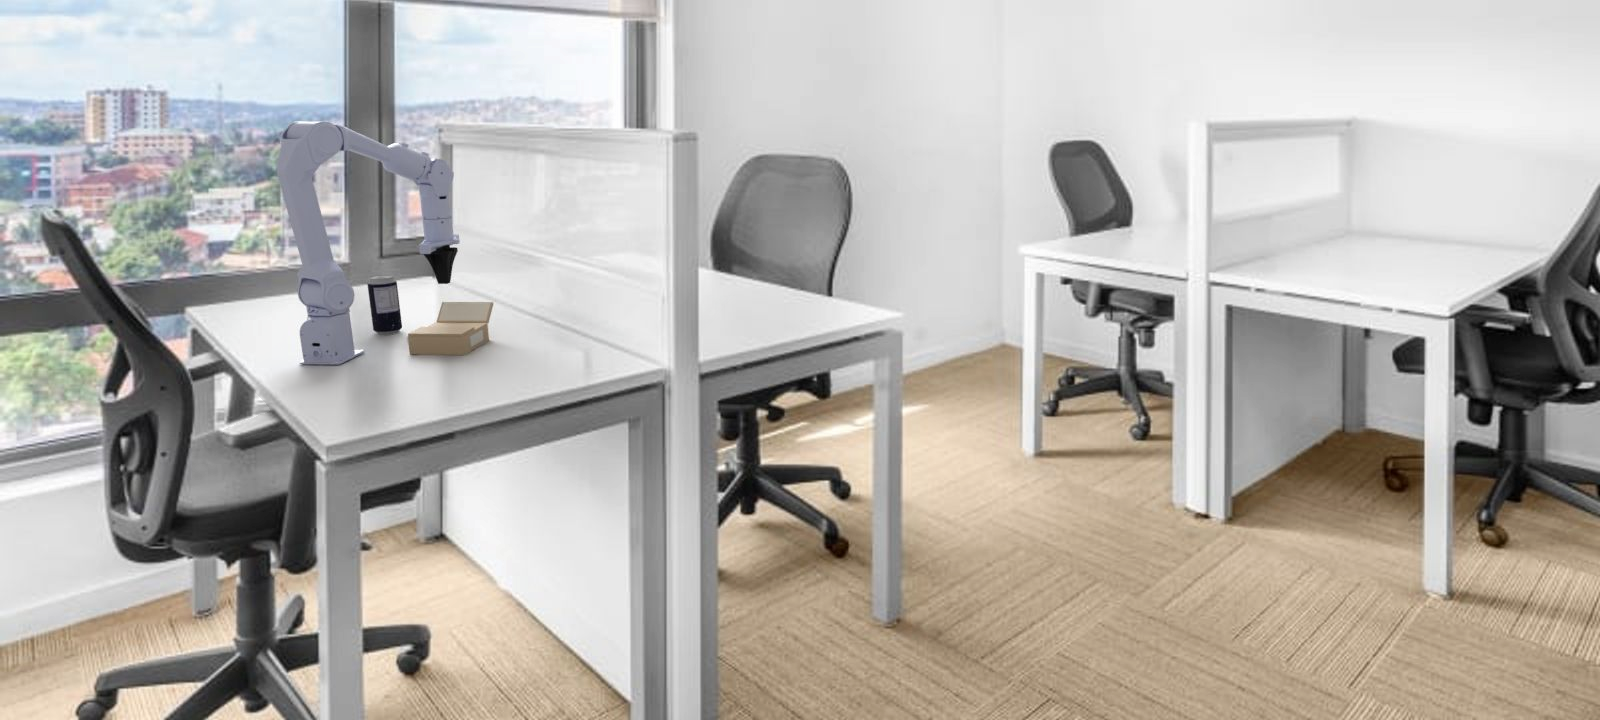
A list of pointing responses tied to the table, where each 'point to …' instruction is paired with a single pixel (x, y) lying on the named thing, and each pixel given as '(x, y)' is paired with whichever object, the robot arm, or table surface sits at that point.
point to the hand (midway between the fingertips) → (444, 283)
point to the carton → (447, 338)
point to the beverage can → (384, 304)
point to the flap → (465, 312)
